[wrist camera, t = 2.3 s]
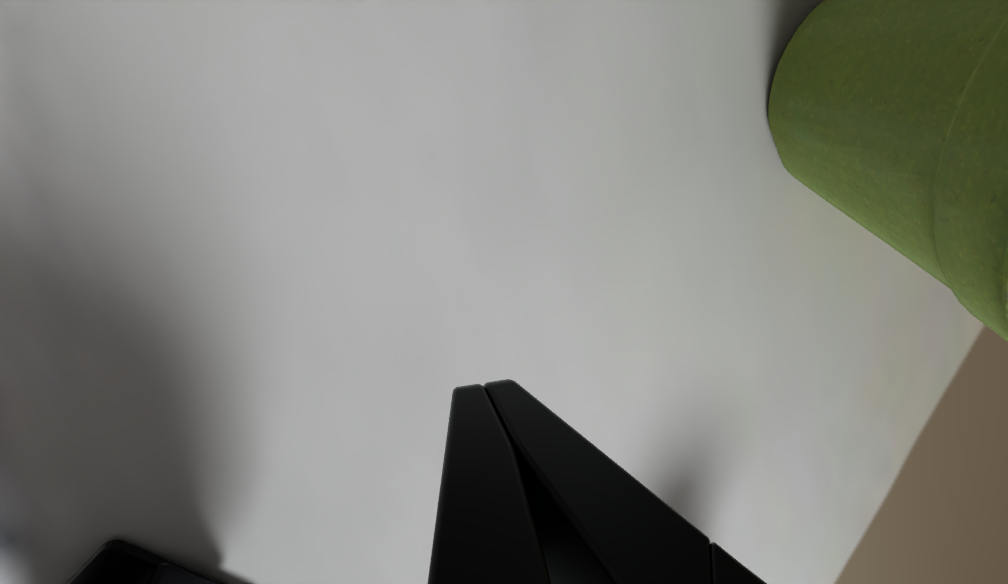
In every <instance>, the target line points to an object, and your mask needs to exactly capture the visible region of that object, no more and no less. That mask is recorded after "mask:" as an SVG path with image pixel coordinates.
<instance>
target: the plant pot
mask: <svg viewBox="0 0 1008 584" xmlns="http://www.w3.org/2000/svg"><path fill="white" fill-rule="evenodd" d="M768 117H769V127H770V130H771V132H772V135H773V138H774V141H775V144H776V147H777V150H778V153H779V156H780V158H781V161H782V163H783V165H784V167H785V168H786V169H787V171H788V172H789V173H790V174H791V175H792V176H793V177H795V178H796V179H797V180H799V181H800V182H801V183H803V184H804V185H805V186H807V187H808V188H809V189H811V190H812V191H813V192H815V193H816V194H818V195H819V196H820V197H822V198H823V199H825V200H826V201H827V202H829V203H830V204H832V205H833V206H834V207H836V208H837V209H839V210H840V211H841V212H843V213H844V214H846V215H847V216H849V217H850V218H851V219H853V220H854V221H856V222H857V223H858V224H860V225H861V226H863V227H864V228H865V229H867V230H868V231H870V232H871V233H873V234H874V235H875V236H877V237H878V238H880V239H881V240H883V241H884V242H885V243H887V244H888V245H890V246H891V247H892V248H894V249H895V250H897V251H898V252H900V253H901V254H902V255H904V256H905V257H907V258H908V259H910V260H911V261H912V262H914V263H915V264H917V265H918V266H919V267H921V268H922V269H923V270H925V271H926V272H927V273H929V274H930V275H932V276H933V277H934V278H936V279H937V280H939V281H940V282H941V283H943V284H944V285H946V286H947V287H948V288H950V289H951V290H952V292H953V293H954V295H955V296H956V298H957V299H958V301H959V302H960V303H961V304H962V305H963V306H964V307H965V308H966V309H967V310H968V311H969V312H970V313H971V314H972V315H973V316H974V317H976V318H977V319H978V320H980V321H981V322H982V323H984V324H985V325H986V326H988V327H989V328H991V329H992V330H993V331H995V332H996V333H997V334H998V335H1000V336H1001V337H1002V338H1004V339H1005V340H1006V341H1008V0H824V1H823V2H822V3H820V4H819V5H818V6H817V7H815V8H814V10H813V11H812V12H811V13H810V14H809V15H808V16H807V17H806V18H805V20H804V21H803V22H802V23H801V24H800V26H799V27H798V29H797V30H796V32H795V33H794V35H793V37H792V39H791V40H790V42H789V43H788V45H787V47H786V49H785V51H784V53H783V55H782V57H781V59H780V62H779V64H778V66H777V69H776V72H775V75H774V79H773V83H772V87H771V92H770V98H769V111H768Z"/></svg>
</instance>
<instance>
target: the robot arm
mask: <svg viewBox="0 0 1008 584" xmlns="http://www.w3.org/2000/svg"><path fill="white" fill-rule="evenodd" d="M112 553H114V554H117V555H114V554H112ZM66 584H222V583H220V582H217V581H215V580H213V579H210V578H208V577H206V576H203V575H201V574H199V573H197V572H194V571H192V570H190V569H187V568H185V567H183V566H181V565H178V564H176V563H174V562H171V561H169V560H167V559H164V558H162V557H160V556H158V555H155V554H153V553H151V552H148V551H146V550H144V549H141V548H139V547H137V546H135V545H132V544H130V543H128V542H125V541H122V540H111V541H108V542H106V543H105V544H103V546H102V547H101V548H100V549H99V550H98V551H97V552H96V553H95V554H94V555H93V556H92V557H91V558H90V559H89V560H88V561H87V562H86V563H85V564H84V565H83V567H82V568H81V569H80V570H79V571H78V572H77V573H76V574H75V575H74V576H73V577H72V578H71V579H70V580H69V581H68V582H67V583H66ZM428 584H767V583H765V582H764V581H763V580H762V579H760V578H759V577H758V576H756V575H755V574H754V573H752V572H751V571H750V570H749V569H747V568H746V567H745V566H743V565H742V564H741V563H740V562H738V561H737V560H736V559H735V558H733V557H732V556H731V555H730V554H728V553H727V552H726V551H725V550H723V549H722V548H721V547H720V546H719V545H717V544H716V543H711V544H710V540H709V538H708V537H707V536H706V535H705V534H703V533H702V532H701V531H700V530H698V529H697V528H696V527H695V526H693V525H692V524H691V523H690V522H688V521H687V520H686V519H685V518H683V517H682V516H681V515H680V514H678V513H677V512H676V511H675V510H674V509H672V508H671V507H670V506H669V505H667V504H666V503H665V502H664V501H662V500H661V499H660V498H659V497H657V496H656V495H655V494H654V493H652V492H651V491H650V490H649V489H648V488H646V487H645V486H644V485H643V484H641V483H640V482H639V481H638V480H636V479H635V478H634V477H633V476H631V475H630V474H629V473H628V472H626V471H625V470H624V469H623V468H622V467H620V466H619V465H618V464H617V463H615V462H614V461H613V460H612V459H610V458H609V457H608V456H607V455H605V454H604V453H603V452H602V451H600V450H599V449H598V448H597V447H596V446H594V445H593V444H592V443H591V442H589V441H588V440H587V439H586V438H584V437H583V436H582V435H581V434H579V433H578V432H577V431H576V430H574V429H573V428H572V427H571V426H569V425H568V424H567V423H566V422H565V421H563V420H562V419H561V418H560V417H558V416H557V415H556V414H555V413H553V412H552V411H551V410H550V409H548V408H547V407H546V406H545V405H543V404H542V403H541V402H540V401H539V400H537V399H536V398H535V397H534V396H532V395H531V394H530V393H529V392H527V391H526V390H525V389H524V388H522V387H521V386H520V385H519V384H517V383H516V382H515V381H513V380H509V379H507V380H500V381H494V382H488V383H486V384H485V385H484V386H482V385H480V384H474V385H468V386H461V387H456V388H455V389H454V390H453V394H452V402H451V409H450V417H449V425H448V432H447V440H446V447H445V455H444V463H443V470H442V478H441V486H440V493H439V501H438V509H437V516H436V524H435V532H434V539H433V547H432V554H431V562H430V570H429V577H428Z"/></svg>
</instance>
